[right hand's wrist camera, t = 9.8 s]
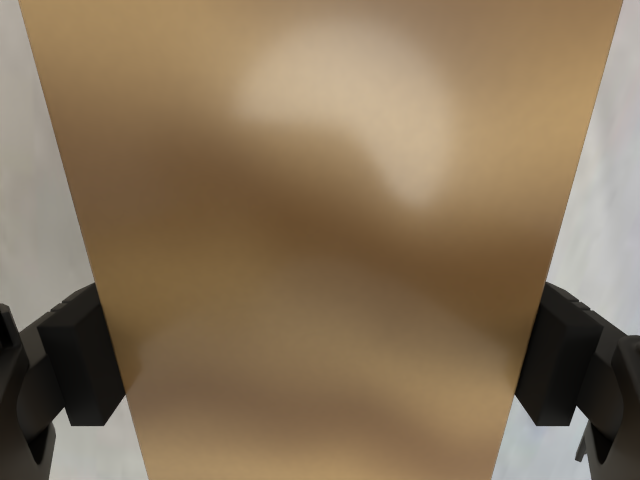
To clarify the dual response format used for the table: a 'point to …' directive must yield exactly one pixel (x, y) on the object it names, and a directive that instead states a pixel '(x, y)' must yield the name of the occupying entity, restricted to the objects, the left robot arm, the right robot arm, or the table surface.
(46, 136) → the table surface
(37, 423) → the right robot arm
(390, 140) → the wooden beam
